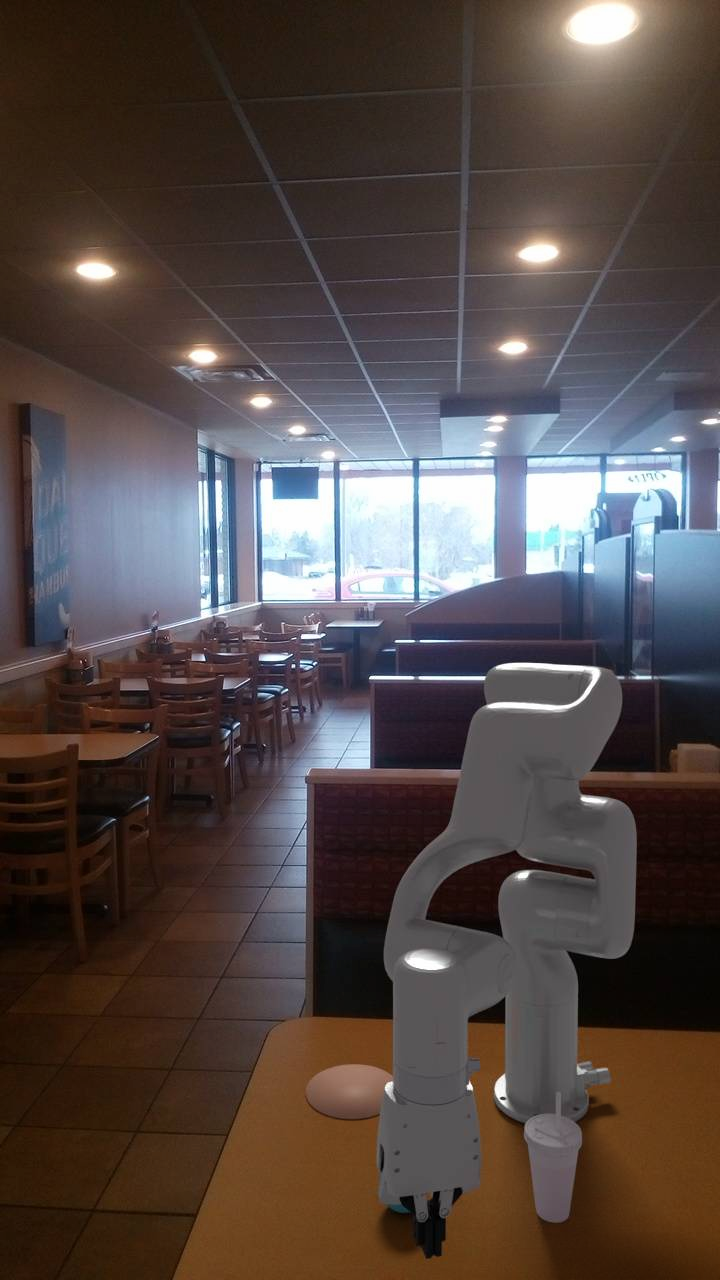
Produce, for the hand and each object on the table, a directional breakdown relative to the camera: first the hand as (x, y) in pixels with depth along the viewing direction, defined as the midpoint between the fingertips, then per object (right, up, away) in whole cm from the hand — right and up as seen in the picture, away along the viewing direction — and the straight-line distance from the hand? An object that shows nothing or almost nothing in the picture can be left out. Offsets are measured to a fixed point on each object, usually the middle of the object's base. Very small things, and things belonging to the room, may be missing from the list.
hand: (429, 1247), depth 96 cm
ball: (-2, +1, +10) cm, 10 cm away
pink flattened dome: (-8, 0, +34) cm, 35 cm away
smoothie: (+15, -2, +9) cm, 18 cm away
